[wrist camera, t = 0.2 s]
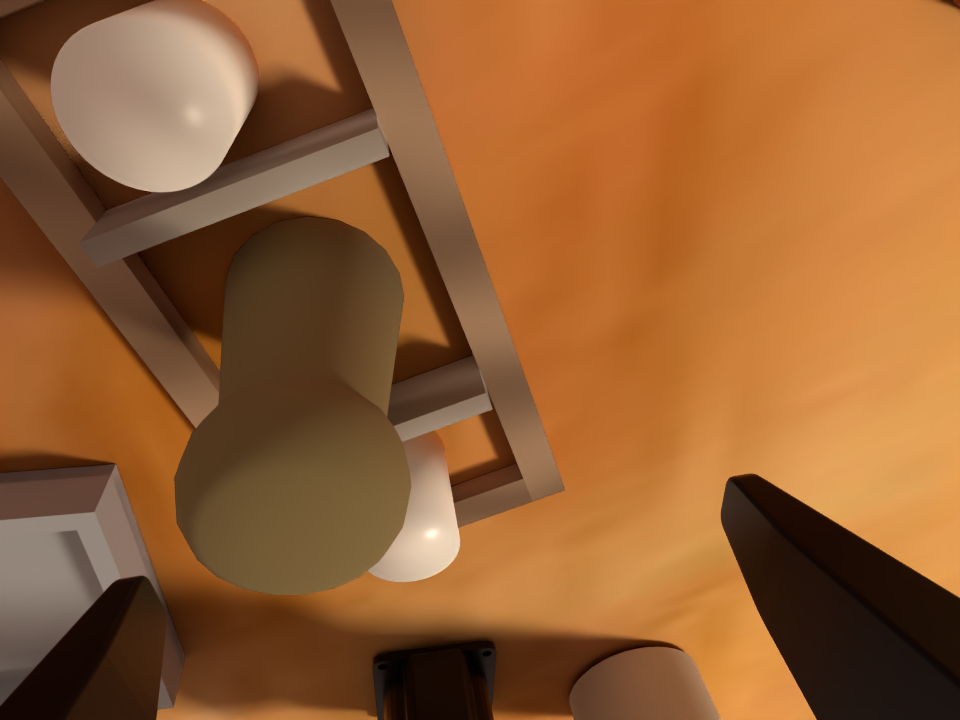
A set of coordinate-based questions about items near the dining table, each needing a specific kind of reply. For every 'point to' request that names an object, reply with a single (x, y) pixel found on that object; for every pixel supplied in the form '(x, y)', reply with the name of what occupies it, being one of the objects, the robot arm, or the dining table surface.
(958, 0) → the sauce bottle
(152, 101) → the white short cylinder
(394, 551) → the cylinder
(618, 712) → the travel mug
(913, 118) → the dining table surface
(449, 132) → the dining table surface
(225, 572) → the cork
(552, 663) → the dining table surface
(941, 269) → the dining table surface
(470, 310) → the ladder
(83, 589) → the tray
